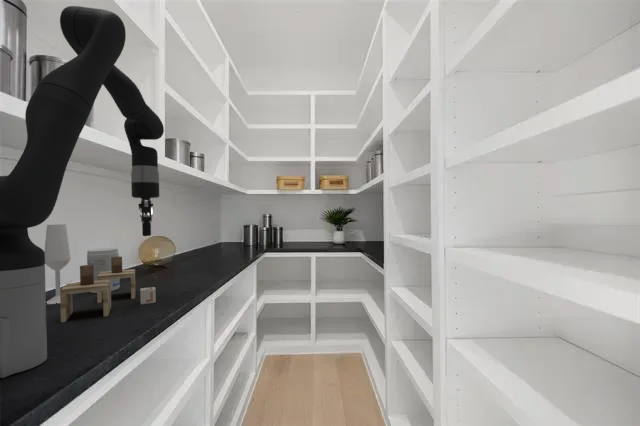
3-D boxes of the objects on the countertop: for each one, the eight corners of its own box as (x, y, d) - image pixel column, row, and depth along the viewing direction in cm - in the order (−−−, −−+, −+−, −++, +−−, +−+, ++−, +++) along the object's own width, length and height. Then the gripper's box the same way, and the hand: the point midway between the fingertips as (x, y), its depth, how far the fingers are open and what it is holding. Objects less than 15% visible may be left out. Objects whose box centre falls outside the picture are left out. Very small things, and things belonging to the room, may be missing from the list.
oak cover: (134, 298, 109) (133, 257, 109) (97, 302, 104) (96, 260, 104) (135, 292, 118) (134, 254, 118) (100, 296, 113) (100, 256, 113)
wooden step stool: (108, 316, 90) (107, 266, 90) (60, 322, 85) (59, 269, 85) (111, 307, 98) (110, 261, 98) (68, 312, 94) (67, 265, 94)
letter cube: (155, 302, 103) (155, 289, 103) (140, 304, 101) (140, 290, 101) (155, 299, 107) (154, 286, 107) (140, 301, 105) (140, 288, 105)
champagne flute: (51, 299, 110) (49, 224, 110) (75, 297, 111) (73, 224, 112) (39, 304, 103) (38, 225, 103) (65, 302, 105) (63, 224, 105)
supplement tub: (111, 286, 129) (110, 247, 129) (125, 289, 124) (124, 248, 124) (82, 292, 120) (81, 250, 120) (96, 294, 115) (95, 251, 115)
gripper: (160, 179, 99) (161, 235, 99) (158, 184, 112) (159, 233, 112) (130, 179, 96) (131, 237, 96) (131, 183, 109) (133, 235, 109)
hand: (146, 235), depth 104 cm, fingers open, 8 cm apart
